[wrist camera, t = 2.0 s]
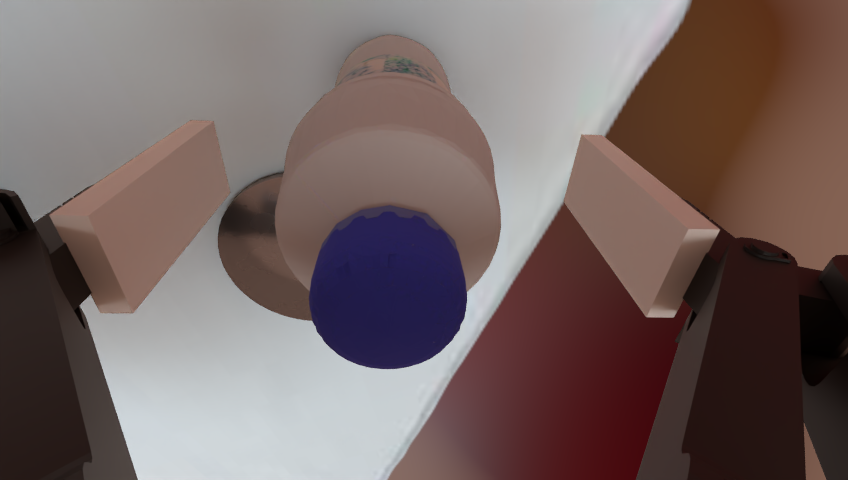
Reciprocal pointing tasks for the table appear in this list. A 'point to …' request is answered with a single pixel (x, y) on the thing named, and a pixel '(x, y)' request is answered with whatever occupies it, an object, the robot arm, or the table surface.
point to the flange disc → (260, 251)
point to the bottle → (388, 207)
